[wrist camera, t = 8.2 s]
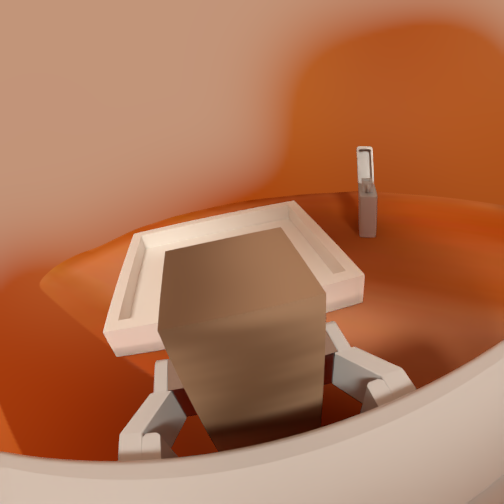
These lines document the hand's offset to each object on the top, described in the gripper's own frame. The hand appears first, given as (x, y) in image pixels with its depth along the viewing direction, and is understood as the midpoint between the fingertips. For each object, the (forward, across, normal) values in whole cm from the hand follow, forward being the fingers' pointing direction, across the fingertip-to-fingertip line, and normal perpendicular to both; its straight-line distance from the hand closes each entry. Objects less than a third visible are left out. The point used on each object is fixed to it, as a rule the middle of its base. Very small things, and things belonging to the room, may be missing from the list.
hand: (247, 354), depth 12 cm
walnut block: (-1, 0, +6) cm, 6 cm away
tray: (+15, 0, +6) cm, 16 cm away
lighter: (+19, -16, +6) cm, 26 cm away
